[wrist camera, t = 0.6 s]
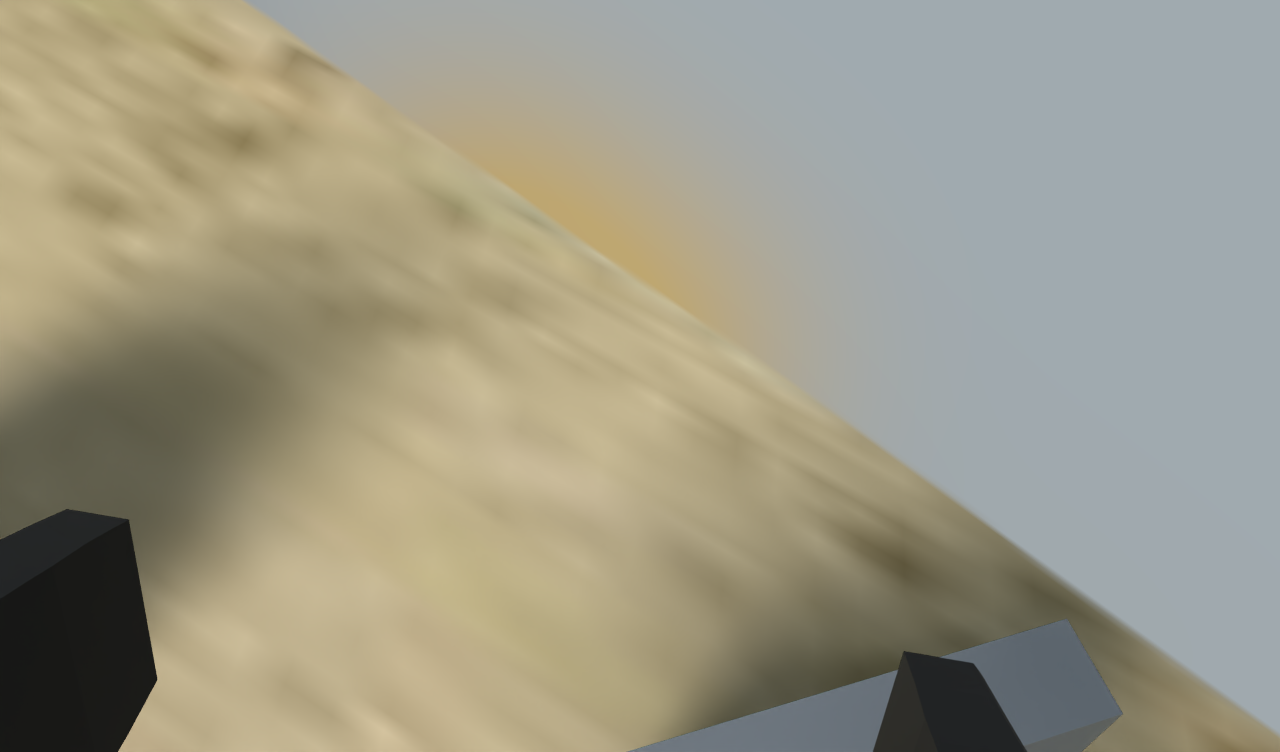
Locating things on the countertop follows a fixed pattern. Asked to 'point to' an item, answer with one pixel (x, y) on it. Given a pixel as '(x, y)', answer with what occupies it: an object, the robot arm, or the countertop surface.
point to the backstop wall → (1012, 666)
